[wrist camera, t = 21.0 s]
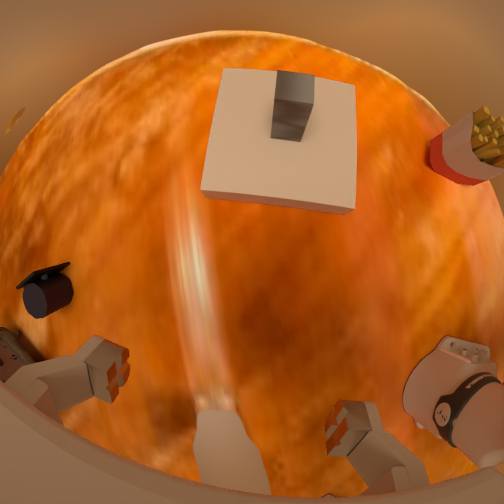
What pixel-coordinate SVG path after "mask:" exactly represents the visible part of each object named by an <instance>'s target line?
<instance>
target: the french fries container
mask: <svg viewBox="0 0 504 504" xmlns="http://www.w3.org/2000/svg"><path fill="white" fill-rule="evenodd" d="M489 115H490V113H489V109H488V108H487V107H485V106H482V107H481V108H480V109H479V110H478V111H476V112H475V113H474V112H473V111H472V112H470V113H469V114H467V115H466V116H465V117H463V118H462V119H460V120H459V121H458V122H456V123H455V124H453V125H452V126H451V127H449V128H448V129H446V130H445V131H444V132H442V133H441V134H439V135H438V136H437V137H435V138H434V139H432V140H431V141H430V164H431V166H432V168H433V170H434V172H436V173H438V174H440V175H442V176H444V177H446V178H448V179H449V180H451V181H453V182H455V183H460V184H467V185H476V184H479V183H482V182H484V181H487V180H489V179H491V178H493V177H496V176H498V175H500V174H502V173H504V127H503V126H501V127H499V126H500V125H501V124H503V123H504V118H503V117H502V116H500V117H498V118H497V119H495V118H494V117H493V116H492V115H490V116H489ZM487 116H489V117H487ZM486 117H487V118H486ZM497 127H499V128H497ZM496 128H497V129H496Z"/></svg>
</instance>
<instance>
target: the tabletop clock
mask: <svg viewBox="0 0 504 504" xmlns="http://www.w3.org/2000/svg"><path fill="white" fill-rule="evenodd" d="M13 334H14V335H13ZM13 334H12V333H11V332H10V331H9V330H7V329H6V328H4V327H0V380H1V381H2V382H3V383H5V382H6V381H7V380H8V379H9V378H10V377H11V376H12V375H13V374H14V373H15V372H16V371H17V370H18V369H20V368H21V367H22V366H25V365H29V364H34V363H36V362H35V361H34V360H33V358H32V357H31V356H30V354H29V353H28V352H27V350H26V349H25V348H24V347H23V346H22V344H21V343H20V342H19V341H18V340H17V339H16V337H19V335H20V332H19V331H18V330H14V331H13Z"/></svg>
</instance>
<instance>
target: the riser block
mask: <svg viewBox="0 0 504 504" xmlns="http://www.w3.org/2000/svg"><path fill="white" fill-rule="evenodd" d="M276 78H277V71H267V70H255V69H239V68H224V70H223V74H222V78H221V83H220V87H219V92H218V96H217V101H216V106H215V111H214V116H213V121H212V126H211V131H210V136H209V141H208V147H207V152H206V158H205V164H204V170H203V176H202V182H201V188H200V190H201V191H202V192H203V194H204V195H205V196H206V197H207V198H211V199H222V200H232V201H242V202H251V203H260V204H268V205H277V206H285V207H293V208H300V209H308V210H315V211H322V212H329V213H335V214H342V215H344V214H346V213H348V212H350V211H352V210H354V209H355V199H356V170H357V129H356V101H355V85H352V84H348V83H343V82H339V81H334V80H329V79H324V78H318V77H315V85H314V105H313V108H312V111H311V114H310V117H309V120H308V122H307V125H306V128H305V131H304V134H303V136H302V139H301V142H295V141H288V140H280V139H272V138H270V137H271V127H272V117H273V106H274V96H275V87H276Z"/></svg>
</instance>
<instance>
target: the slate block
mask: <svg viewBox="0 0 504 504" xmlns="http://www.w3.org/2000/svg"><path fill="white" fill-rule="evenodd" d="M314 85H315V75H309V74H303V73H296V72H289V71H280V70H277V78H276V87H275V96H274V106H273V117H272V127H271V137H270V138H272V139H280V140H288V141H295V142H301V139H302V136H303V134H304V131H305V128H306V125H307V122H308V120H309V117H310V114H311V111H312V108H313V105H314Z"/></svg>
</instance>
